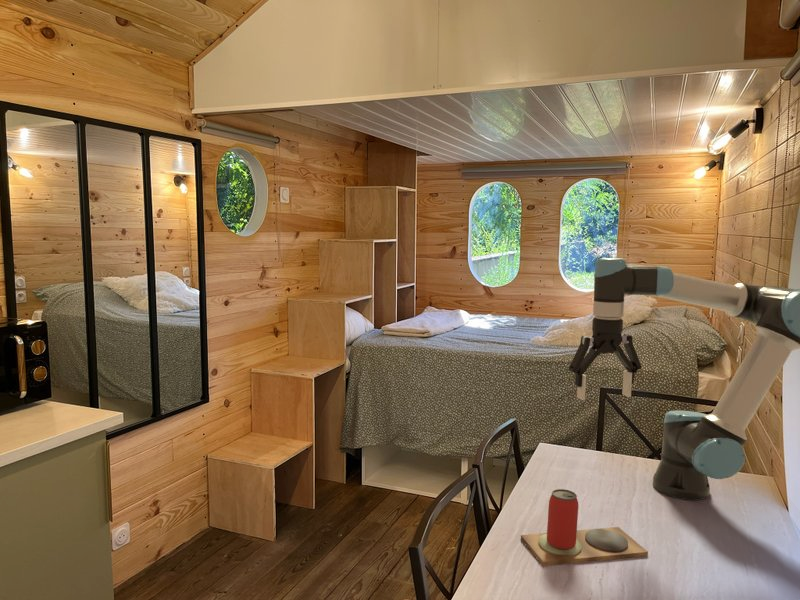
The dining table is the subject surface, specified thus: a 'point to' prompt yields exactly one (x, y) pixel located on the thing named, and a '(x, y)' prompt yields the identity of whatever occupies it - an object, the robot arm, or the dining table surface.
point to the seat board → (585, 547)
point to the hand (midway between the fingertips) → (604, 397)
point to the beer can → (562, 519)
